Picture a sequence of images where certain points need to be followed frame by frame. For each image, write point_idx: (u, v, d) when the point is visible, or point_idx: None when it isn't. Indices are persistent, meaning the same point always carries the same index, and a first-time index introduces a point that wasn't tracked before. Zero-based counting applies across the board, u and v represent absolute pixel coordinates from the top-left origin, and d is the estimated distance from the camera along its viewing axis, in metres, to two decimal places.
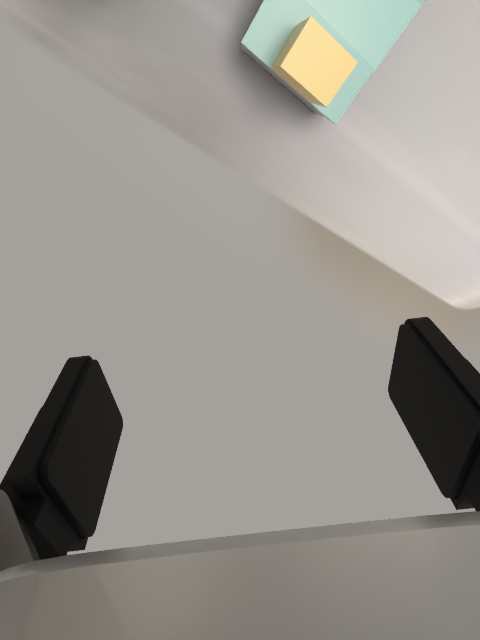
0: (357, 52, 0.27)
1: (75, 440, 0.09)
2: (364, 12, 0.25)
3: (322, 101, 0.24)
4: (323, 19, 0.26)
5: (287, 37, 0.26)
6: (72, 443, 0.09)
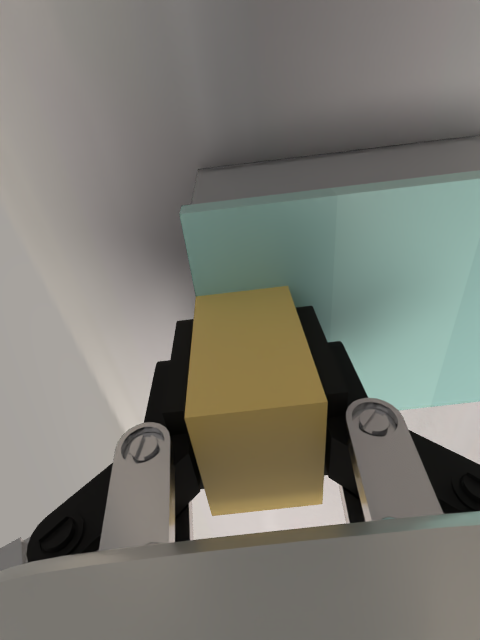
0: None
1: None
2: (378, 358, 0.14)
3: (213, 506, 0.09)
4: (329, 316, 0.12)
5: (261, 287, 0.11)
6: None
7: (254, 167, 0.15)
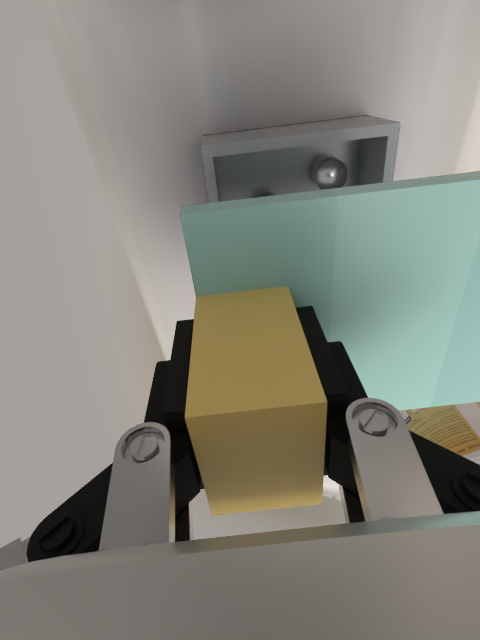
0: None
1: None
2: (378, 358, 0.14)
3: (213, 505, 0.09)
4: (329, 317, 0.12)
5: (261, 287, 0.12)
6: None
7: (233, 133, 0.27)
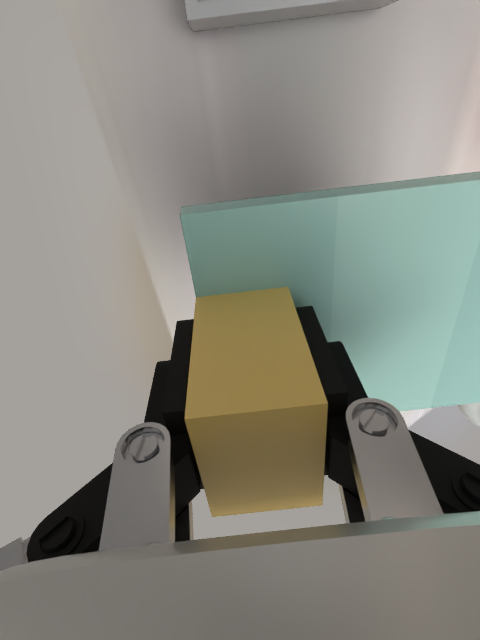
0: None
1: None
2: (379, 359, 0.14)
3: (213, 507, 0.09)
4: (329, 317, 0.12)
5: (261, 288, 0.11)
6: None
7: None
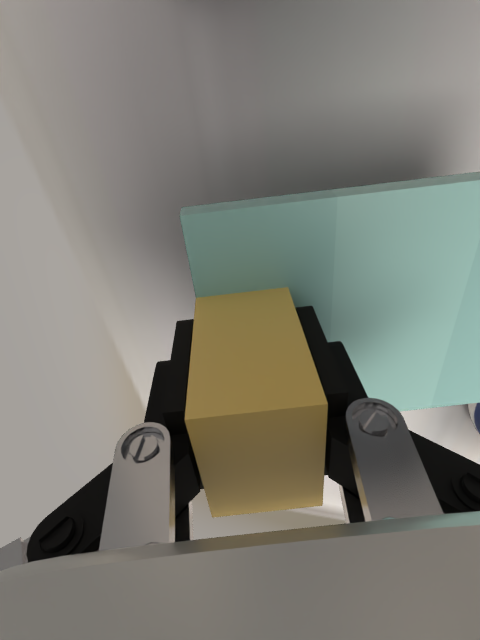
0: None
1: None
2: (378, 359, 0.14)
3: (213, 507, 0.09)
4: (329, 318, 0.12)
5: (261, 288, 0.11)
6: None
7: None
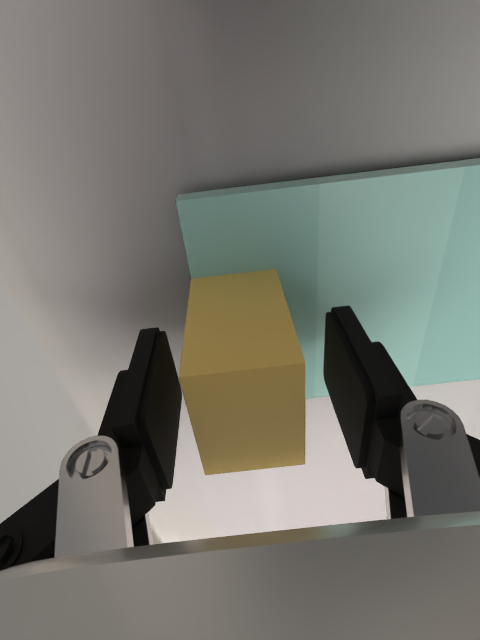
0: (315, 365, 0.15)
1: (158, 400, 0.10)
2: None
3: (205, 465, 0.10)
4: (315, 298, 0.13)
5: (251, 270, 0.12)
6: (157, 401, 0.09)
7: None
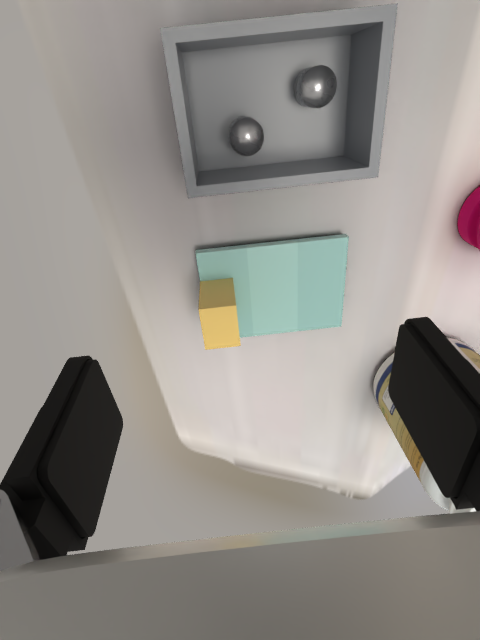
0: (252, 320, 0.35)
1: (75, 440, 0.09)
2: (271, 307, 0.34)
3: (205, 345, 0.30)
4: (249, 289, 0.33)
5: (223, 278, 0.32)
6: (72, 443, 0.09)
7: None
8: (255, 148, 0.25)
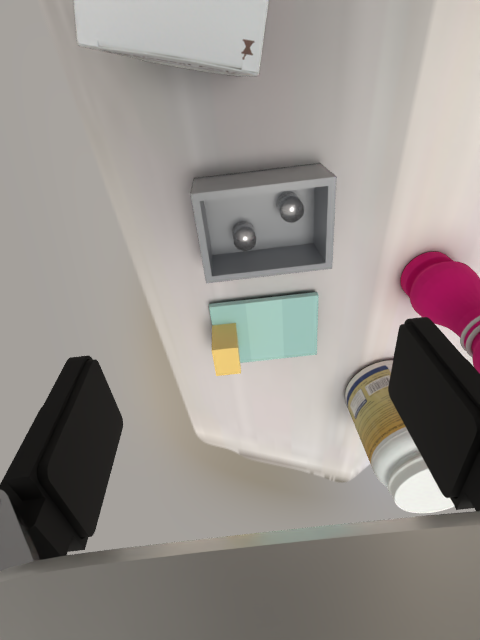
0: (250, 350, 0.48)
1: (75, 440, 0.09)
2: (264, 342, 0.47)
3: (216, 372, 0.43)
4: (247, 330, 0.46)
5: (228, 323, 0.45)
6: (72, 443, 0.09)
7: (217, 177, 0.36)
8: (250, 246, 0.38)
